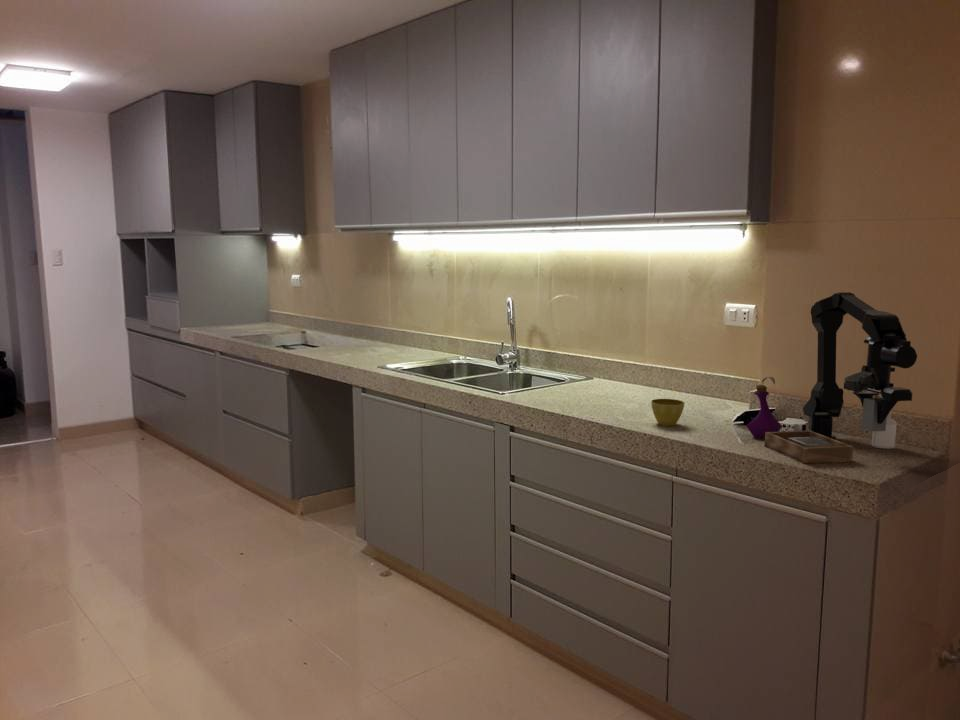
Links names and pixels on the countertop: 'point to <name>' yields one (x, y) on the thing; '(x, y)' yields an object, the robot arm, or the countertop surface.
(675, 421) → the flower pot
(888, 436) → the eye dropper bottle
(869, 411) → the grey box with knob
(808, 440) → the collar
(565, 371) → the countertop surface
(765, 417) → the perfume bottle
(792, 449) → the walnut box
